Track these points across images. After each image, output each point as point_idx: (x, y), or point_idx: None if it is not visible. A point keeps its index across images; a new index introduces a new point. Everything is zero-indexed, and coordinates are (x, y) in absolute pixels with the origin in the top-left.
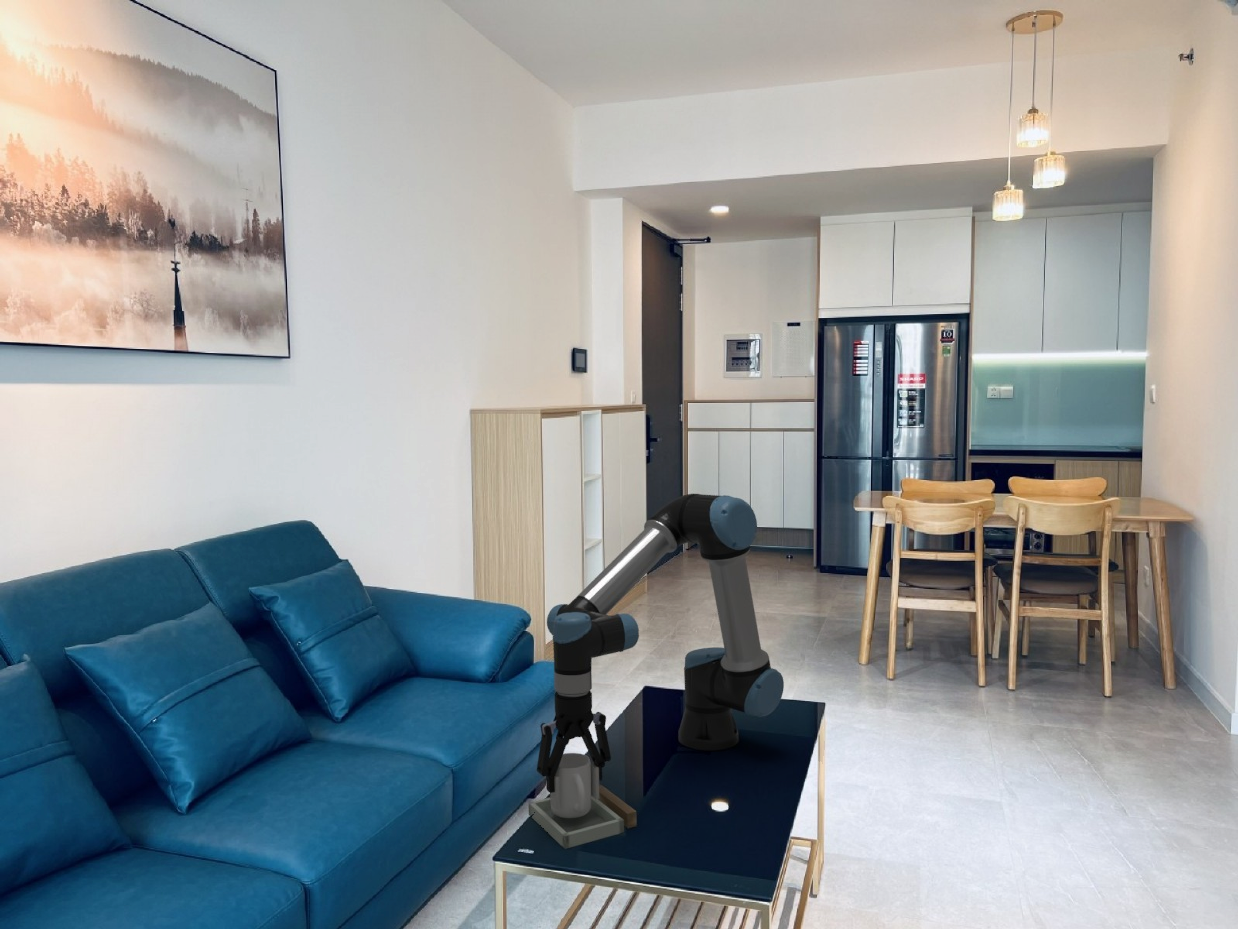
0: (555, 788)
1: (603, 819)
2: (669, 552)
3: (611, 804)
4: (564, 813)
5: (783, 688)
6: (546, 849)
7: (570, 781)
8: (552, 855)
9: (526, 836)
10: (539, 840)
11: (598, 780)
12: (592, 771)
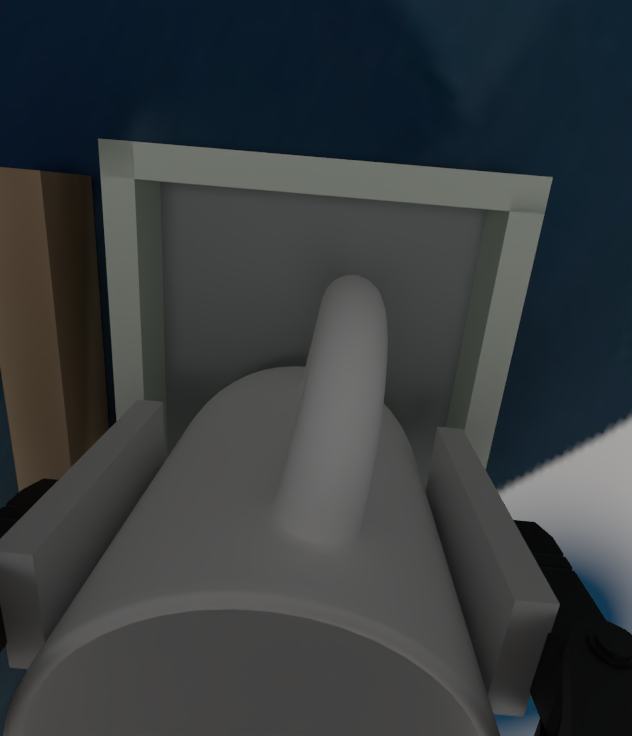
0: (512, 527)
1: (166, 338)
2: None
3: (72, 383)
4: (390, 414)
5: None
6: (594, 243)
7: (377, 519)
8: (617, 159)
9: (577, 423)
10: (556, 351)
11: (75, 469)
12: (73, 571)
